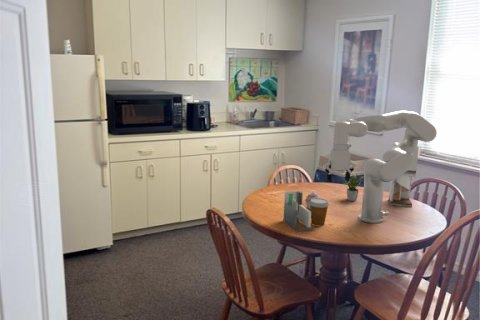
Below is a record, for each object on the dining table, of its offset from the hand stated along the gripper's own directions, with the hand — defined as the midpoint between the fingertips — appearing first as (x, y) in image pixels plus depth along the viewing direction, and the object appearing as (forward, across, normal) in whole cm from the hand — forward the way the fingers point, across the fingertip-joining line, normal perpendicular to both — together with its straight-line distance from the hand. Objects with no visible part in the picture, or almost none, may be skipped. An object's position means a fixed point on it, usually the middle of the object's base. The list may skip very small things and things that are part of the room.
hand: (338, 181), depth 200 cm
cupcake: (+22, +2, -22) cm, 31 cm away
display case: (+21, -53, -21) cm, 61 cm away
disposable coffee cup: (+21, +10, 0) cm, 23 cm away
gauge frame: (+21, +20, 0) cm, 29 cm away
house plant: (+21, -29, -32) cm, 48 cm away
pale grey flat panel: (+21, +17, 0) cm, 27 cm away
